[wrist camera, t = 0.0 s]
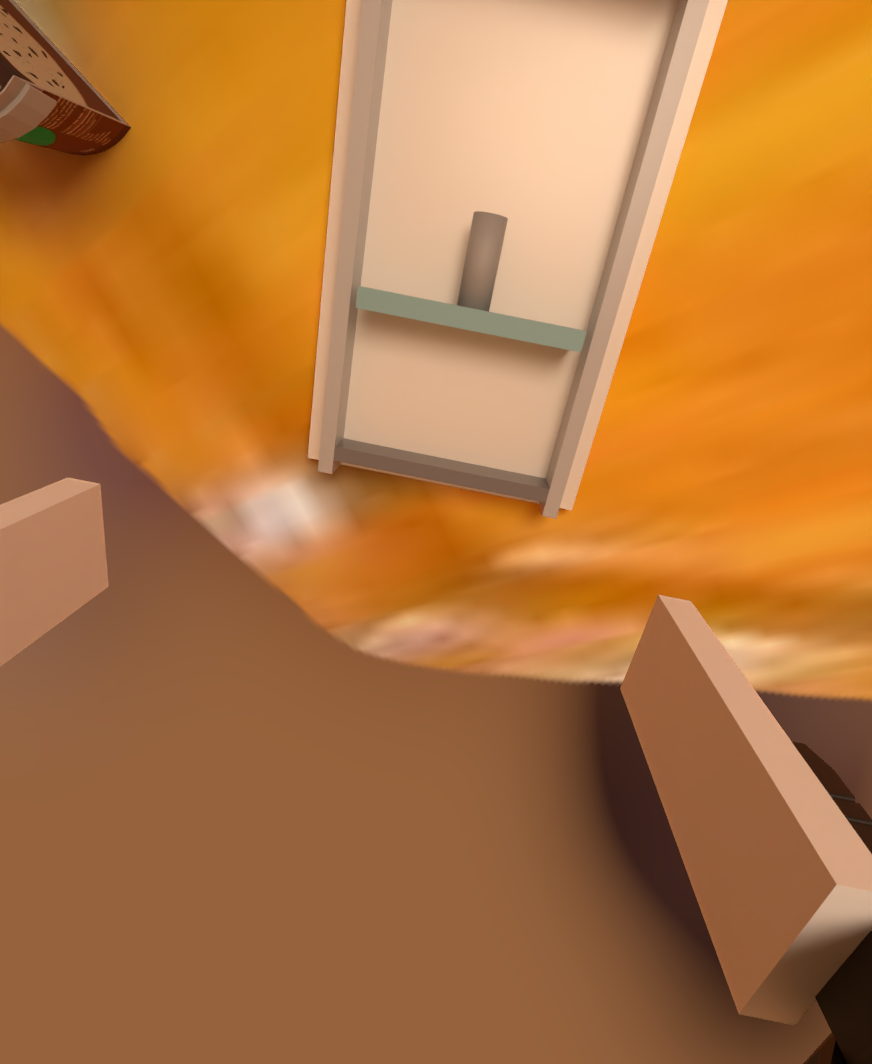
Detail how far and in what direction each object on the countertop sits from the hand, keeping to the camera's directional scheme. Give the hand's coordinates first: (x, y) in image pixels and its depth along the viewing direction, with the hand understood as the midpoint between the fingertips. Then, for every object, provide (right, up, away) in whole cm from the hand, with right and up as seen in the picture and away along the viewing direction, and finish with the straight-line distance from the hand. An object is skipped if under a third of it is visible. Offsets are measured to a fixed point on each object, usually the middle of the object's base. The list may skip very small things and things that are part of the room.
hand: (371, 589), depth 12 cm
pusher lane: (+5, +19, +22) cm, 29 cm away
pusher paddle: (+4, +17, +21) cm, 27 cm away
